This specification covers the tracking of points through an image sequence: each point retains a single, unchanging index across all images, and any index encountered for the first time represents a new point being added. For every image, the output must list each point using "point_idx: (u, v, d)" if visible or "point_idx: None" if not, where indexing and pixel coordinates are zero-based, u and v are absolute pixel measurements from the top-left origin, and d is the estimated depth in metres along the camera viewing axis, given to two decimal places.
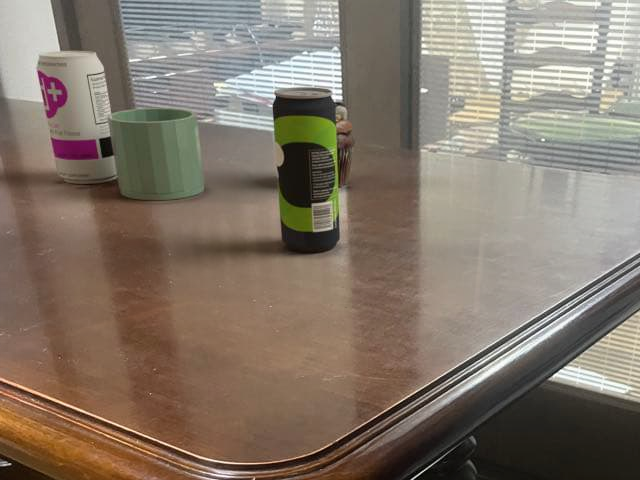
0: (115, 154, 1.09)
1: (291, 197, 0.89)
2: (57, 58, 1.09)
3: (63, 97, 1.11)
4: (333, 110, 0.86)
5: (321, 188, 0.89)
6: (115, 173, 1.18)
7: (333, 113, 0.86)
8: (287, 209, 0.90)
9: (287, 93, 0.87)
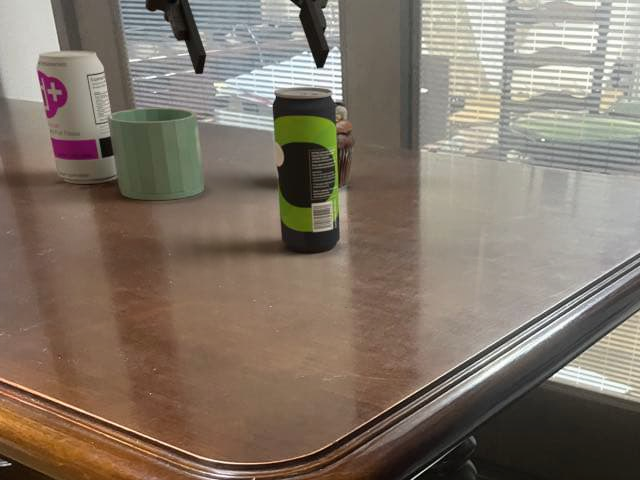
0: (115, 154, 1.09)
1: (291, 197, 0.89)
2: (57, 58, 1.09)
3: (63, 97, 1.11)
4: (333, 110, 0.86)
5: (321, 188, 0.89)
6: (115, 173, 1.18)
7: (333, 113, 0.86)
8: (287, 209, 0.90)
9: (287, 93, 0.87)
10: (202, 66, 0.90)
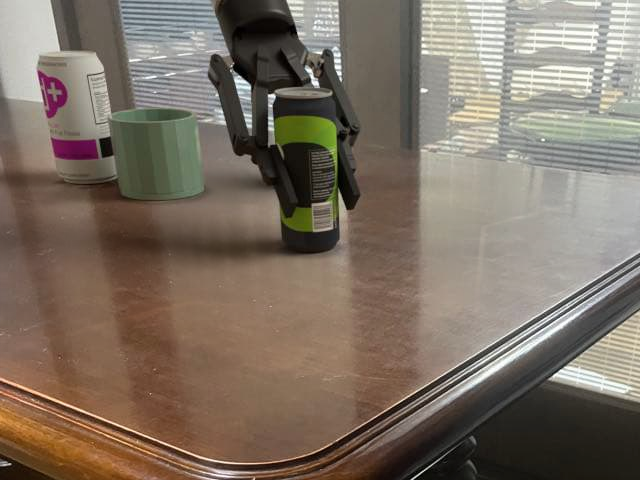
0: (115, 154, 1.09)
1: None
2: (57, 58, 1.09)
3: (63, 97, 1.11)
4: (333, 110, 0.86)
5: (321, 188, 0.89)
6: (115, 173, 1.18)
7: (332, 113, 0.86)
8: None
9: (287, 93, 0.87)
10: (292, 211, 0.88)
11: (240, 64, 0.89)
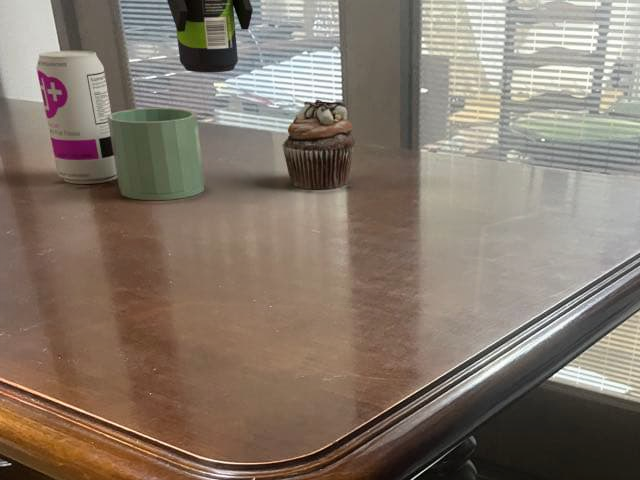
0: (115, 154, 1.09)
1: None
2: (57, 58, 1.09)
3: (63, 97, 1.11)
4: None
5: (213, 2, 0.90)
6: (115, 173, 1.18)
7: None
8: None
9: None
10: (184, 23, 0.90)
11: None
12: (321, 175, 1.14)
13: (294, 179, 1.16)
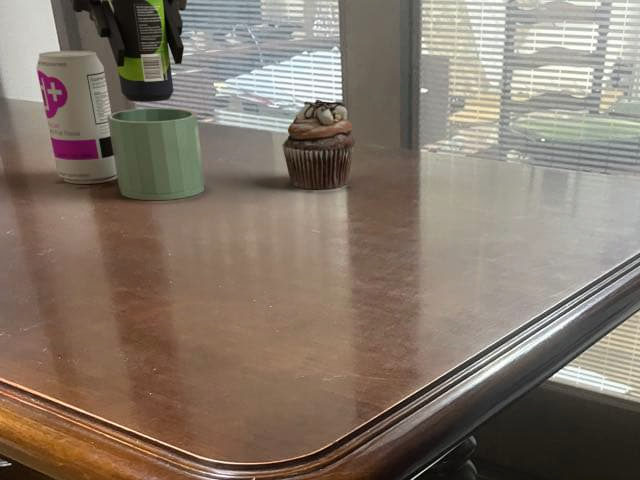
0: (115, 154, 1.09)
1: None
2: (57, 58, 1.09)
3: (63, 97, 1.11)
4: None
5: (148, 41, 1.03)
6: (115, 173, 1.18)
7: None
8: None
9: None
10: (122, 59, 1.02)
11: None
12: (321, 175, 1.14)
13: (294, 179, 1.16)
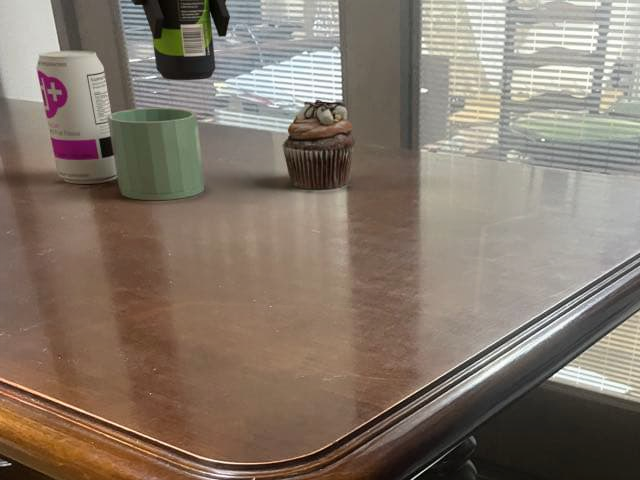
0: (115, 154, 1.09)
1: None
2: (57, 58, 1.09)
3: (63, 97, 1.11)
4: None
5: (190, 9, 0.89)
6: (115, 173, 1.18)
7: None
8: None
9: None
10: (160, 30, 0.88)
11: None
12: (321, 175, 1.14)
13: (294, 179, 1.16)
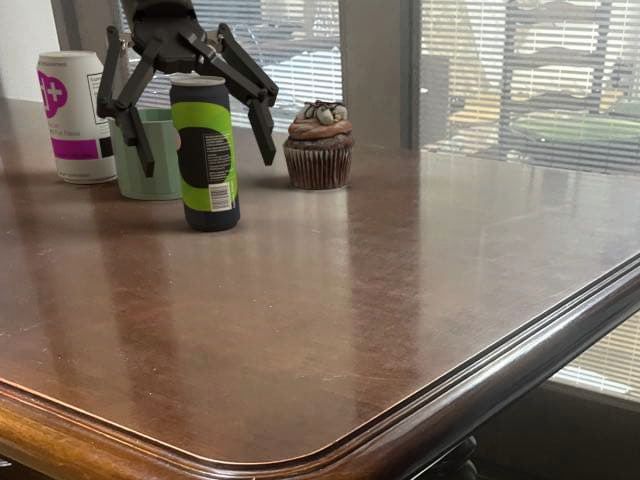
0: (115, 154, 1.09)
1: (190, 179, 0.95)
2: (57, 58, 1.09)
3: (63, 97, 1.11)
4: (225, 97, 0.93)
5: (217, 170, 0.95)
6: (115, 173, 1.18)
7: (225, 100, 0.93)
8: (187, 190, 0.96)
9: (183, 81, 0.93)
10: (151, 171, 0.93)
11: (135, 43, 0.95)
12: (321, 175, 1.14)
13: (294, 179, 1.16)
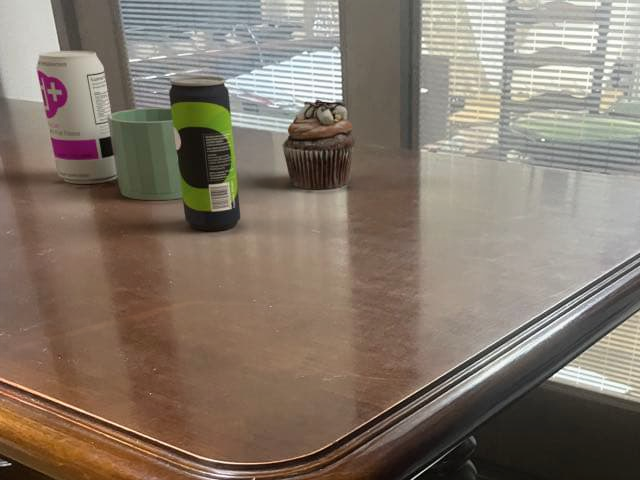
0: (115, 154, 1.09)
1: (190, 179, 0.95)
2: (57, 58, 1.09)
3: (63, 97, 1.11)
4: (225, 97, 0.93)
5: (217, 170, 0.95)
6: (115, 173, 1.18)
7: (225, 100, 0.93)
8: (187, 190, 0.96)
9: (183, 81, 0.93)
10: None
11: None
12: (321, 175, 1.14)
13: (294, 179, 1.16)
